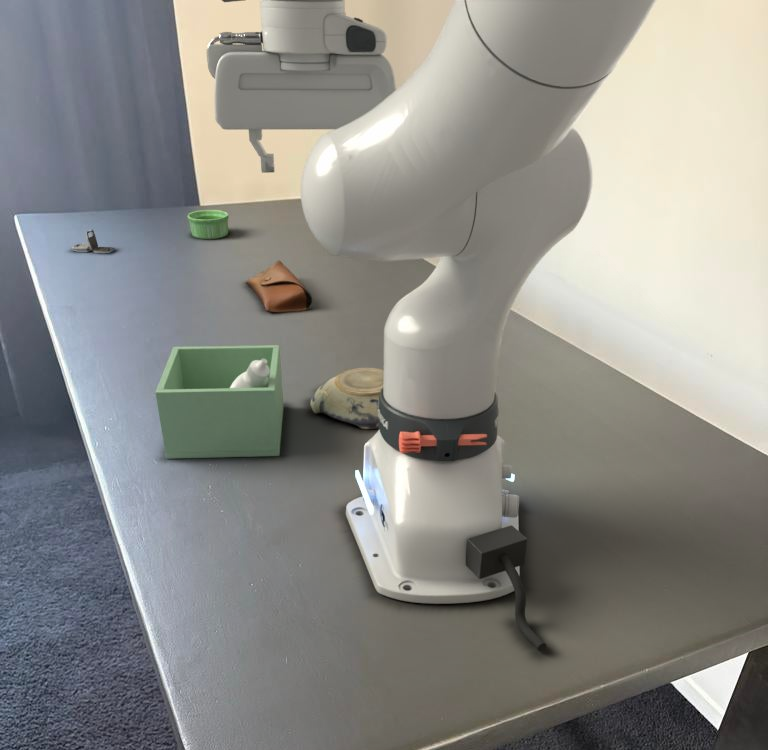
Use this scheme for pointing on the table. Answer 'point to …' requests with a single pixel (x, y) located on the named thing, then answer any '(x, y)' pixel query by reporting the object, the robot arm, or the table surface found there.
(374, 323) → the table surface
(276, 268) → the sunglasses case
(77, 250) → the strap clip
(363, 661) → the table surface
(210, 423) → the bin
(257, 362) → the eye dropper bottle
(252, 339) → the table surface
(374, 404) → the decorative bowl
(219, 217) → the ramekin
